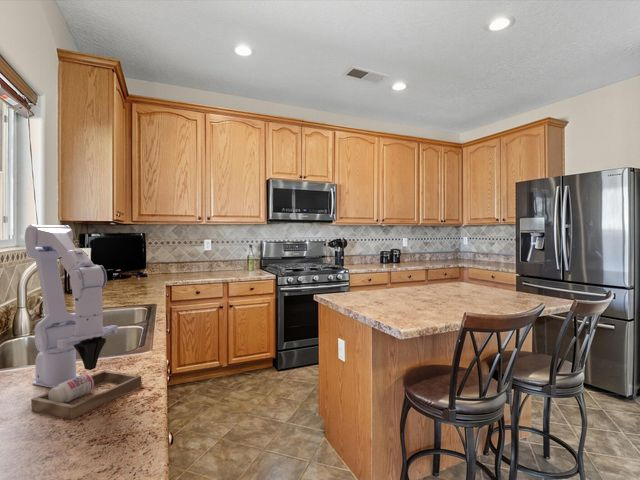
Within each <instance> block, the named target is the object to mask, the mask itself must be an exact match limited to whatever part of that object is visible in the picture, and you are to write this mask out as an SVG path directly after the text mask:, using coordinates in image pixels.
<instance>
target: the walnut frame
mask: <svg viewBox="0 0 640 480" xmlns="http://www.w3.org/2000/svg"><path fill="white" fill-rule="evenodd" d="M90 376H91V377H92V379H93V381H94V386H96V385H97V384H99V383H102V382H110V383H115V384H117V385H115V386H113V387H111V388H109V389H106V390H104V391H102V392H100V393H97V394H95V395H93V396H91V397H89V398H87V399H84V400H82V401H80V402H78V403H76V404H69V403H66V402H65V403H64V402H63V403H60V402H56V401H51V400H49V398H48V394H49V391H48V392H47V393H43V394H41V395H38V396H36V397H34V398H32V399H30V401H31V403H30V404H31V405H30V406H31V411H34V412H39V413H43V414H48V415H52V416H56V417H60V418H65V419H69V420H74V419H76V418H78V417H80V416H83V415H84V414H87V413H88V412H90V411H92V410H94V409H96V408H98V407H100V406H102V405H105V404H107V403H109V402H111V401H113V400H115V399H116V398H119V397H121V396H122V395H125V394H126V393H129V392H131V391H133V390H135V389H137V388H140V387H141V386H142V375H137V374H130V373H124V372H118V371H111V370H105V369H104V370H101V371H100V372H96V373H93V374H91V375H90Z"/></svg>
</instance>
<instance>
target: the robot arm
mask: <svg viewBox="0 0 640 480" xmlns="http://www.w3.org/2000/svg"><path fill="white" fill-rule="evenodd" d="M73 240H74V232H73V229H72V228H71V226H69V225H67V224H64V225H55V224H53V225H49V224H47V225H46V224H43V225H42V224H29V225H28V226H27V227H26V228H25V232H24V242H25V249H26V252H27V256H28V257H29V258H32V259H34V261H35V264H36V269H37V274H38V280H39V285H40V291H41V297H42V302H43V309H44V314H45V316H44V317H43V318H42V319H41V320H40V321H38V322H37V323H36V324H35V326H34V344H35V348H36V350H37V351H39V352H38V354H37V355H36V358H35V363H34V365H35V380H34V381H32V382H31V384H32V385H36V386H40V387H41V386H42V387H45V388H47V387H48V388H50V389H52V388H55V387H58V386H59V385H60V384H61V383H63V382H66V381H68V380H71V379H73V378H76V377H78V376H81V375H82V374H78V373H77V353H78V355H79V357H80V359H81V360H82V363H83V366H84V370H88V371H93V370H95V369H96V367H97V363H98V361H99V360H98V359H99V357H100V354H101V352H102V349H103V347H104V345H105V344H106V342H107V339H106V338H105V337H106V336H109V335H112V334H117V333H119V326H118V325H116V324H115V325H114V324H110V325H107V326H104V323H103V322H104V319H103V316H104V315H103V313H104V312H103V311H104V310H103V307H104V306H103V288H105V287H106V286H107V280H108V276H107V275H108V274H107V271H106V269H105V268H104V266H103V265H102V264H101V265H99V264H94V263H93V261H92V260H91V259H90V257H89V256H88V255H87V254H86V252H84V251H83V250H82V249H77V248H76V245H75V244H74V242H73ZM59 258H61V259H60V263H61V265H62V267H63V268H64V269H65V271H66V272H67V274H68V275H69V284H70V287H71V291H72V292H71V293H72V297H73V298H74V305H75V306H74V310H75V311H74V312H75V313H74V314H73V313H70V312H68V310H67V304H66V299H65V293H64V288H63V283H62V282H63V281H62V276H61V271H60V265H59V261H58V259H59Z"/></svg>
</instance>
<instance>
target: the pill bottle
mask: <svg viewBox="0 0 640 480" xmlns="http://www.w3.org/2000/svg"><path fill="white" fill-rule="evenodd" d="M80 375H81V376H78V377H76V378H73V379H71V380H68V381H66V382H63V383H61V384H60V385H59V386H58V387H55V388H50V390H49V391H48V392H49V394H48V398H49V400H51V401H56V402H60V403H65V404H66V403H68V402H70V401H72V400H75V399H77V398H79V397H82V396H83V395H86V394H88V393H90V392H91V391H93V389H94V386H95V385H94V381H93V379H92V377H91V375H90V374H88V373H83V374H80Z"/></svg>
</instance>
